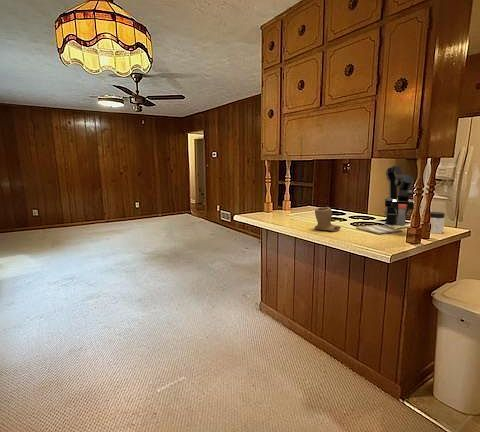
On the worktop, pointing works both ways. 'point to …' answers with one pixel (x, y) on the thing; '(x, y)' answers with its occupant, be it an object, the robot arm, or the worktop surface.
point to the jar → (437, 222)
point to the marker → (401, 214)
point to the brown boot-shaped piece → (325, 219)
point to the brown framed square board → (379, 229)
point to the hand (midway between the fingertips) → (401, 214)
